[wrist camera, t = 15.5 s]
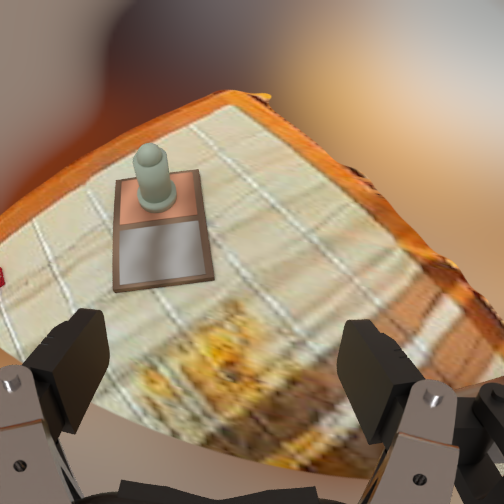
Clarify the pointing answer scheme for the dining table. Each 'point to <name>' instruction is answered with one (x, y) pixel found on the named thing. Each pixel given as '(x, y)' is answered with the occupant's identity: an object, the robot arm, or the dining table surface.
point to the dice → (1, 278)
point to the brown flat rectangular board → (160, 238)
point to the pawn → (154, 179)
